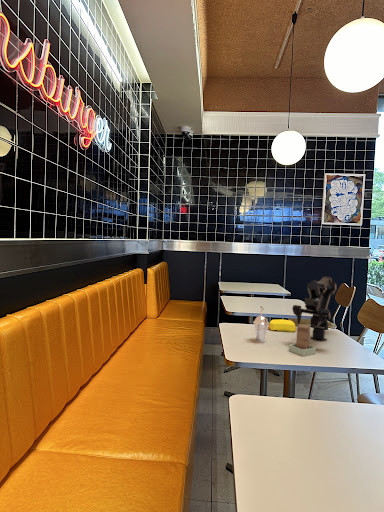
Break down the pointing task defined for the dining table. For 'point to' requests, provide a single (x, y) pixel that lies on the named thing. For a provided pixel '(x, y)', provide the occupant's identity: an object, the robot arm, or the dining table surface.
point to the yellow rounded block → (282, 325)
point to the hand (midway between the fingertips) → (307, 325)
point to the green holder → (302, 352)
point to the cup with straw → (260, 327)
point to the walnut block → (303, 337)
